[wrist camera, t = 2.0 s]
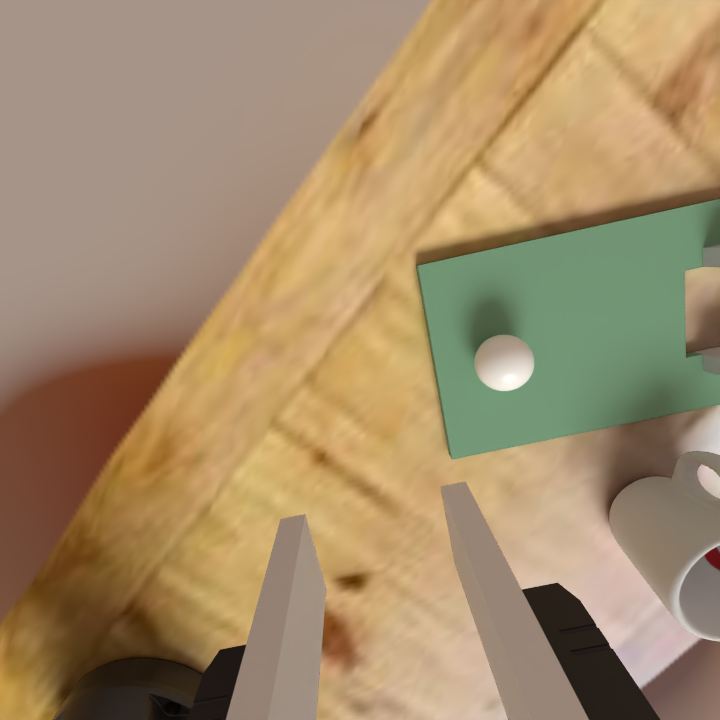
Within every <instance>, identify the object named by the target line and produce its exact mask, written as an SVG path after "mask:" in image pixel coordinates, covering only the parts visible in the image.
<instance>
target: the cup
mask: <svg viewBox="0 0 720 720" xmlns="http://www.w3.org/2000/svg"><path fill="white" fill-rule="evenodd" d="M701 464H703V465H705V466H708V467H709V468H711V469H712V470H714V471H715V472H716V473H717V474H718V475H719V477H720V455H717V454H714V453H710V452H702V451H692V452H687V453H685V454H683V455H682V456H681V457H680V458H679V459H678V461H677V463H676V465H675V469H674V472H673V476H672V478H667V477H658V476H655V477H647V478H643V479H640V480H637V481H635V482H633V483H631V484H629V485H628V486H626V487H625V488H624V489H623V490H622V491H621V492H620V493H619V494H618V495H617V496H616V498H615V499H614V501H613V503H612V506H611V509H610V514H609V523H610V528H611V531H612V533H613V536H614V538H615V540H616V541H617V543H618V544H619V546H620V547H621V549H622V550H623V551H624V553H625V554H626V555H627V557H628V558H629V559H630V561H631V562H632V563H633V564H634V566H635V567H636V568H637V570H638V571H639V572H640V574H641V575H642V576H643V578H644V579H645V580H646V582H647V583H648V584H649V586H650V587H651V588H652V590H653V591H654V592H655V594H656V595H657V596H658V598H659V599H660V600H661V601H662V603H663V604H664V605H665V607H666V608H667V609H668V611H669V612H670V613H671V615H672V616H673V617H674V619H675V620H676V621H677V622H678V623H679V624H680V625H681V626H682V627H683V628H685V629H686V630H687V631H689V632H691V633H692V634H694V635H696V636H699V637H701V638H704V639H709V640H715V641H720V499H718V498H716V497H715V496H713V495H711V494H710V493H709V492H708V491H706V490H705V489H704V488H703V487H702V485H701V484H700V482H699V480H698V477H697V470H698V467H699V466H700V465H701Z"/></svg>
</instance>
